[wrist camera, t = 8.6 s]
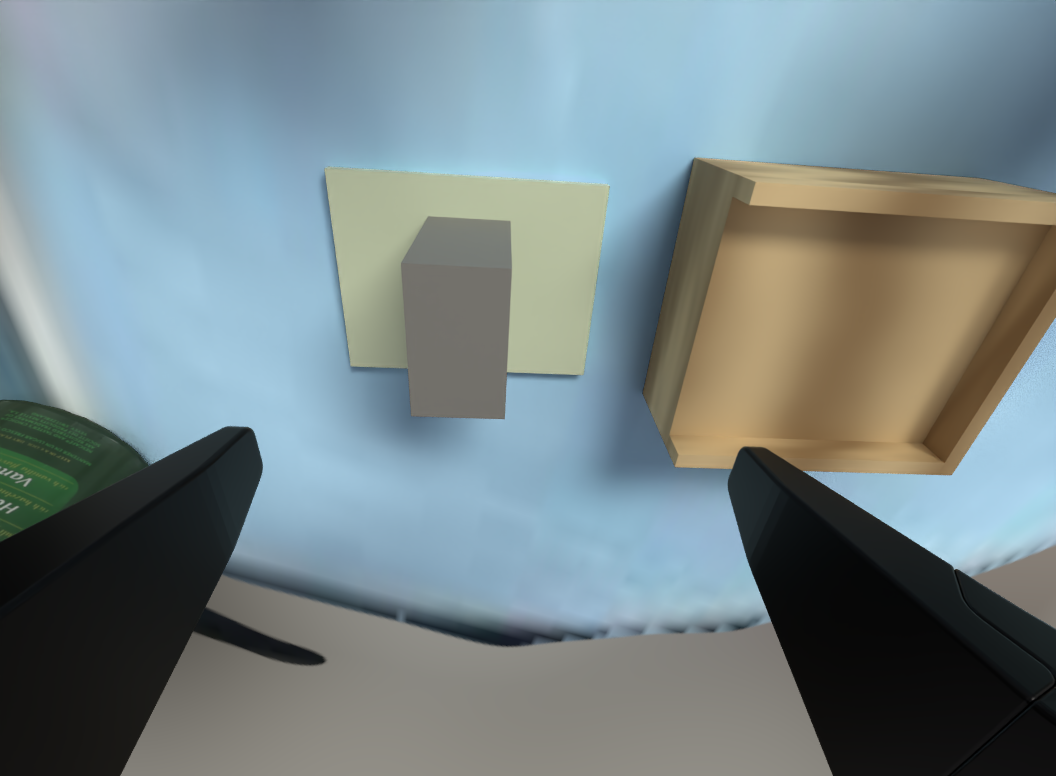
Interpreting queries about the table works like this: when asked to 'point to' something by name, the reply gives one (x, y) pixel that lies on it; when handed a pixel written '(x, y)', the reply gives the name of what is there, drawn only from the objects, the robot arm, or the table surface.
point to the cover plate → (535, 268)
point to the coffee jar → (54, 462)
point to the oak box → (846, 315)
